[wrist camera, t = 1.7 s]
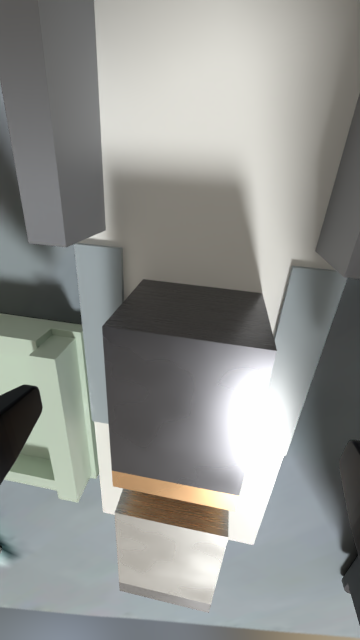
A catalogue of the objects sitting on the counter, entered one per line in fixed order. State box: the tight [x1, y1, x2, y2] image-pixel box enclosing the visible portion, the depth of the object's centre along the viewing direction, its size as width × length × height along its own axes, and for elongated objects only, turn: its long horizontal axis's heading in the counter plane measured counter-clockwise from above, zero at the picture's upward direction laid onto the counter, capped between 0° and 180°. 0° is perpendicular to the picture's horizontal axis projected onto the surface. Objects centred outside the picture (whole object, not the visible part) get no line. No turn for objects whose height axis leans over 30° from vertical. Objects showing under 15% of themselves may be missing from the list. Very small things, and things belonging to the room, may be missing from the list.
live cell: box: [102, 279, 277, 511], centre depth 9 cm, size 4×6×4 cm, turn 176°
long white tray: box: [0, 0, 360, 545], centre depth 10 cm, size 9×24×3 cm, turn 177°
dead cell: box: [115, 489, 229, 613], centre depth 13 cm, size 4×6×4 cm, turn 177°
